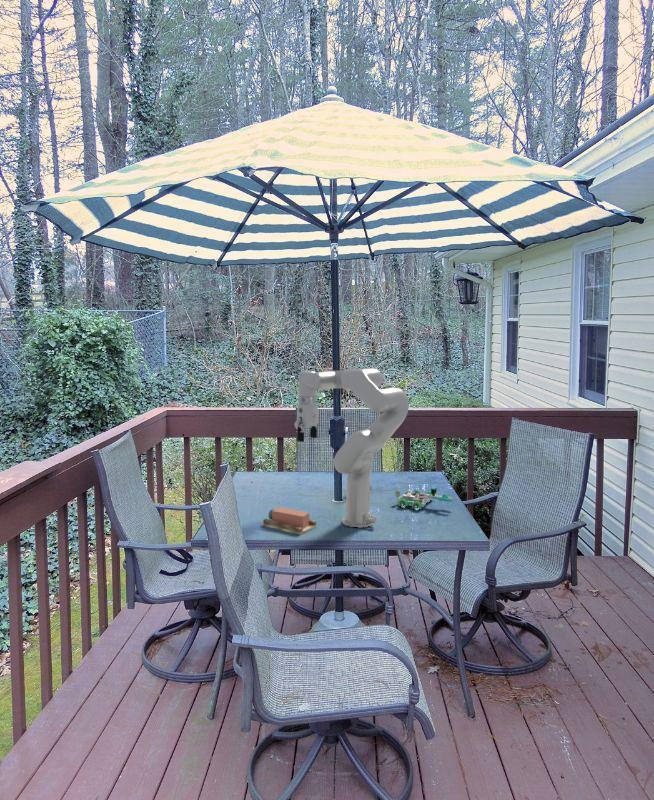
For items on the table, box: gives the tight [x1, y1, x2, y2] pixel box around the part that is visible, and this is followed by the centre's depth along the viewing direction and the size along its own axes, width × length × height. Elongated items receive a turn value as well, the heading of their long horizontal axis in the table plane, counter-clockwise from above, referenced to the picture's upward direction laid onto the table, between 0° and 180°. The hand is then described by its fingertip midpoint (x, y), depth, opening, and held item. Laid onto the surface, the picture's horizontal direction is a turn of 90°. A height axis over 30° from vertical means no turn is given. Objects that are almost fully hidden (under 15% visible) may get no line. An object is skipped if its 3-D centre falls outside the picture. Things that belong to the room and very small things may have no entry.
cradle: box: [262, 518, 317, 536], centre depth 237 cm, size 18×11×2 cm, turn 57°
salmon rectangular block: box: [268, 507, 310, 529], centre depth 237 cm, size 16×5×5 cm, turn 64°
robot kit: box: [394, 486, 455, 510], centre depth 265 cm, size 19×25×9 cm
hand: (307, 439), depth 256 cm, fingers open, 9 cm apart
